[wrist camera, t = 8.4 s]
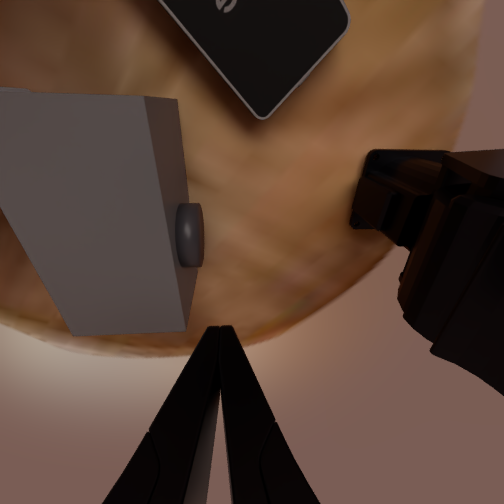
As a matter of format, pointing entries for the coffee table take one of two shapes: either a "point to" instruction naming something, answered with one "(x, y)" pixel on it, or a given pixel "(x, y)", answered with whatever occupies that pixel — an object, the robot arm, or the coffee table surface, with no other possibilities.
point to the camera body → (103, 207)
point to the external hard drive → (262, 42)
